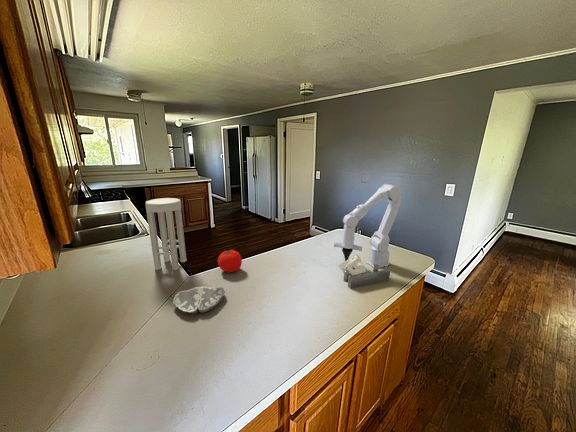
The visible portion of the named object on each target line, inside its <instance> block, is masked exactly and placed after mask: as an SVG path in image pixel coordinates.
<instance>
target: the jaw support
mask: <svg viewBox="0 0 576 432" xmlns="http://www.w3.org/2000/svg"><path fill="white" fill-rule="evenodd" d="M338 268H340V270H341V271H342V273H343V274H344V270H349V275H351V276H356V275H361V274H365V273H368V269H367V268H366V266H365V265H364V263H363V262H362V259H361V256H359V255H358V254H356V255H354V256H352V257H349V258H348V260H346V261H345V260H344V261H343V262H342V263H340V264H338Z"/></svg>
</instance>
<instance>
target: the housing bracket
mask: <svg viewBox="0 0 576 432" xmlns="http://www.w3.org/2000/svg"><path fill="white" fill-rule="evenodd" d="M390 277H391V270H389V269H382V270H379V265H376V264H375V265H374V267H373V269H372V272H365V273H361V274H355V275H351V276H350V272H349V270H344V273H343V281H344V282H346V283H348V284H347V285H348V286H347V287H348V288H349V289H351V290H352V289H357V288H361V287H366V286H370V285H375V284H378V283H379V282H380V283H384V281H385V282H389V281H390ZM388 280H389V281H388ZM380 283H379V284H380Z"/></svg>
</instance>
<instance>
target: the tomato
mask: <svg viewBox="0 0 576 432" xmlns="http://www.w3.org/2000/svg"><path fill="white" fill-rule="evenodd" d="M242 263H243V258H242V256H241V254H240V253H239V252H238V251H237V250H235V249H234V248H233V249H230V250H224V251H222V252H221V253H220V254H219V256H218V257H217V264H218V267H219V269H220V270H221V271H223V272H225V273H233V272H234V273H235V272H237V271H239V270H240V269H241V268H242Z"/></svg>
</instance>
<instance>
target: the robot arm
mask: <svg viewBox="0 0 576 432" xmlns="http://www.w3.org/2000/svg"><path fill="white" fill-rule="evenodd" d="M402 194H403V191H402V189H401V188H400V186H398V185H393V184H389V183H383V184H381V186H380V187H378V189H377V191H375V193H374V194H373V195H372V196H371V197H369V199H367V201H365V203H363V204H359V205H356V208H354V209H353V210H352V211H351V212H349V214H346V215H344V216H343V218H342V222H343V233H342V242H334V244H333V247H334V248H341V249H342V250H341V251H342V253H343V258H344V262H345V261H346V260H348V259H350V256H351V254H352V253H353V250H354V251H359V252H363V246H360V245H356V244H355V237H356V236H355V234H356V233H355V232H356V226H357V227H358V224H359V222H360V221H361V219H362V218H364V217H365V216H366V215H367V214H368V213H369V210H370V209H371V208H372V207H374V206H375V205H376V204H378V202H380V201H381V200H386V201H387V203H388V205H387V207H386V210H385V211H384V215H383V217H382V220H381V222H380V224H379V226H378V230H376V231H374V233H373V235H371V237H370V239H369V243H370V245H371V247H370V248H371V249H370V257H369V258H370V259H369V260H366V264H368V265H370V266H372V267H373V268H374V265H375V264H376V265H379V267H380V268H384V266H385V267H389V266H390V264H389V261H390V251H389V247H390V244H389V243H390V241H391V240H390V237H389V233H390V231H391V229H392V226H393V224H394V222H395V219H396V217H397V214H398V212H399V209H400V207H401V206H402ZM388 265H389V266H388Z"/></svg>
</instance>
